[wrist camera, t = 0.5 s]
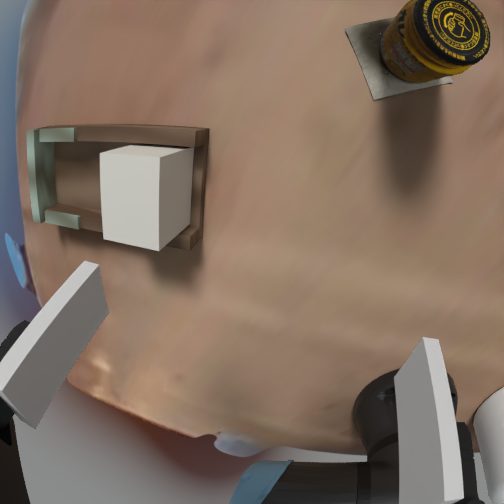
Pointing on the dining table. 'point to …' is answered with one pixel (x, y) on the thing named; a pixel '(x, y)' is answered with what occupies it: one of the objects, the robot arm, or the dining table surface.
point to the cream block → (146, 193)
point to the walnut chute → (88, 171)
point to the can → (492, 443)
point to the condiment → (420, 45)
